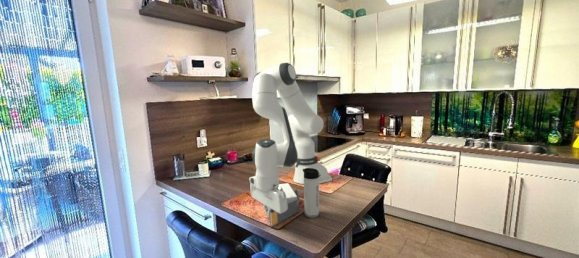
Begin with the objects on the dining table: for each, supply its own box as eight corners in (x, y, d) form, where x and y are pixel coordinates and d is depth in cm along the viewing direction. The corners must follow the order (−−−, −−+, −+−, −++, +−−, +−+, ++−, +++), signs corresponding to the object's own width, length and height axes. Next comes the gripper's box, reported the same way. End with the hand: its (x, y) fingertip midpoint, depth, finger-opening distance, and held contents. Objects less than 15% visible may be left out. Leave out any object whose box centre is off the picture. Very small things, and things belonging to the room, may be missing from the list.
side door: (296, 210, 107) (296, 197, 106) (299, 212, 106) (298, 198, 105) (269, 225, 96) (268, 211, 95) (271, 226, 95) (271, 212, 94)
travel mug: (302, 211, 108) (301, 167, 104) (317, 210, 108) (317, 166, 105) (304, 218, 102) (303, 171, 98) (320, 217, 102) (320, 170, 99)
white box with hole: (292, 196, 123) (291, 181, 122) (301, 211, 108) (301, 194, 107) (264, 199, 120) (263, 185, 119) (270, 215, 104) (269, 199, 103)
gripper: (291, 187, 90) (292, 222, 92) (259, 173, 105) (261, 203, 107) (277, 192, 86) (278, 228, 88) (246, 177, 101) (248, 208, 103)
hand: (268, 214), depth 98 cm, fingers closed
